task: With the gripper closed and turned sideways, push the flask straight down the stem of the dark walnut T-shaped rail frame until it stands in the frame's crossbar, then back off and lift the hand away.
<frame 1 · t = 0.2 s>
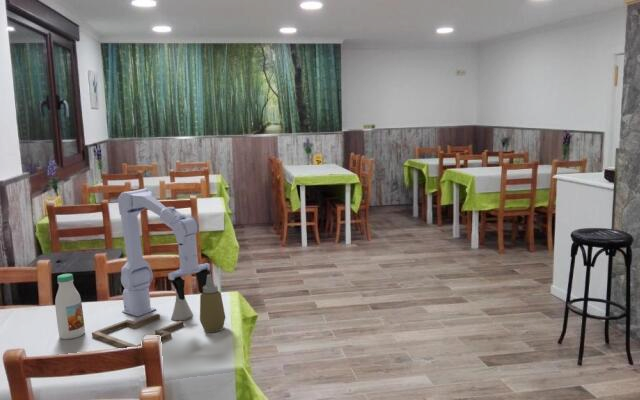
hand: (191, 295, 181), 10 cm above the table, tool pointing down, fingers open, 7 cm apart
flask: (182, 317, 191), on the table
milk bottle: (72, 335, 179), on the table
squeeze bottle: (213, 329, 178), on the table
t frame: (131, 337, 175), on the table
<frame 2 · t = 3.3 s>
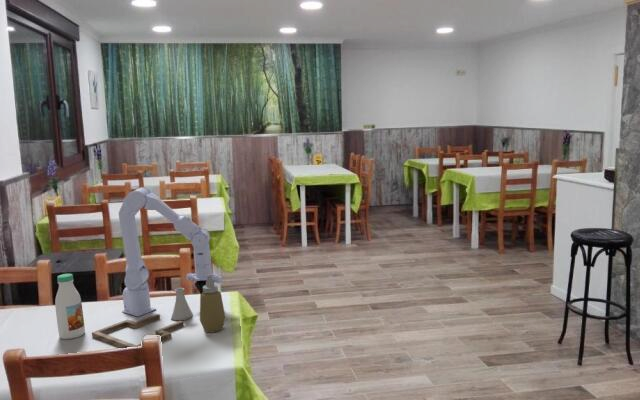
hand: (206, 300, 199), 3 cm above the table, tool pointing down, fingers closed
nothing on the table moved.
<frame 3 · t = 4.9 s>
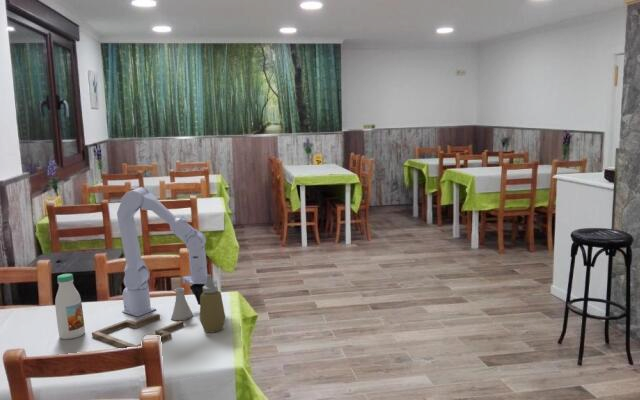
hand: (201, 304, 197), 2 cm above the table, tool pointing down, fingers closed
nothing on the table moved.
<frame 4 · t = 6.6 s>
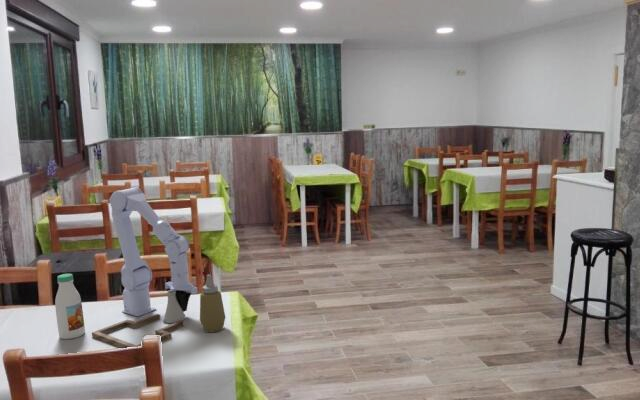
hand: (183, 311, 191), 2 cm above the table, tool pointing down, fingers closed, pressing on flask
flask: (174, 320, 188), on the table, touching gripper
everything else where it was.
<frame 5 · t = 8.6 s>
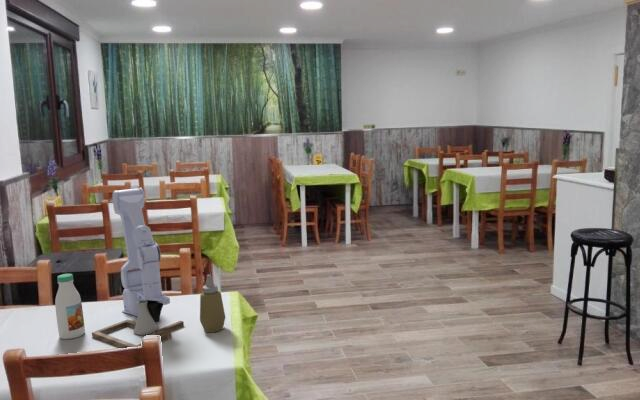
hand: (155, 321, 182), 2 cm above the table, tool pointing down, fingers closed, pressing on flask
flask: (145, 331, 179), on the table, touching gripper
everything else where it was.
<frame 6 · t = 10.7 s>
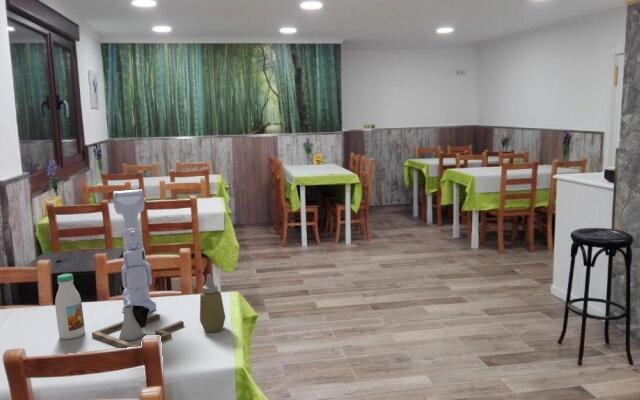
hand: (141, 327, 178), 2 cm above the table, tool pointing down, fingers closed
flask: (131, 337, 175), on the table, touching gripper
everything else where it was.
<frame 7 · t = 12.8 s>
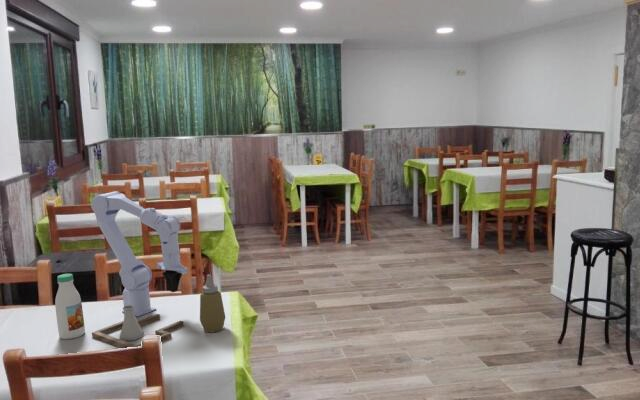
hand: (174, 291, 192), 8 cm above the table, tool pointing down, fingers closed
flask: (131, 337, 175), on the table
everything else where it was.
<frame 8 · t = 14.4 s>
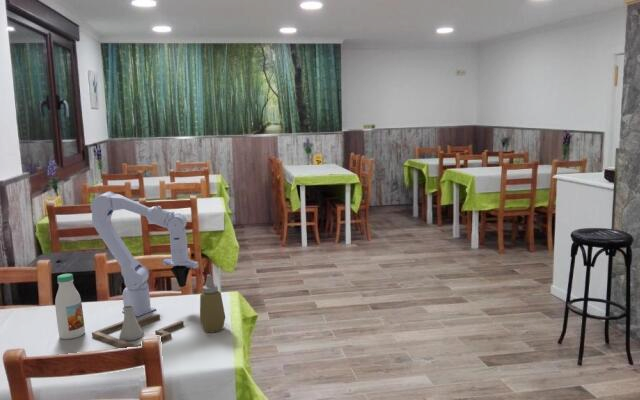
hand: (182, 286, 197), 8 cm above the table, tool pointing down, fingers closed
nothing on the table moved.
at the end: flask inside the target area (0.3 cm from its centre), on the table; flask tilted 0°; flask moved 19.8 cm from its start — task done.
